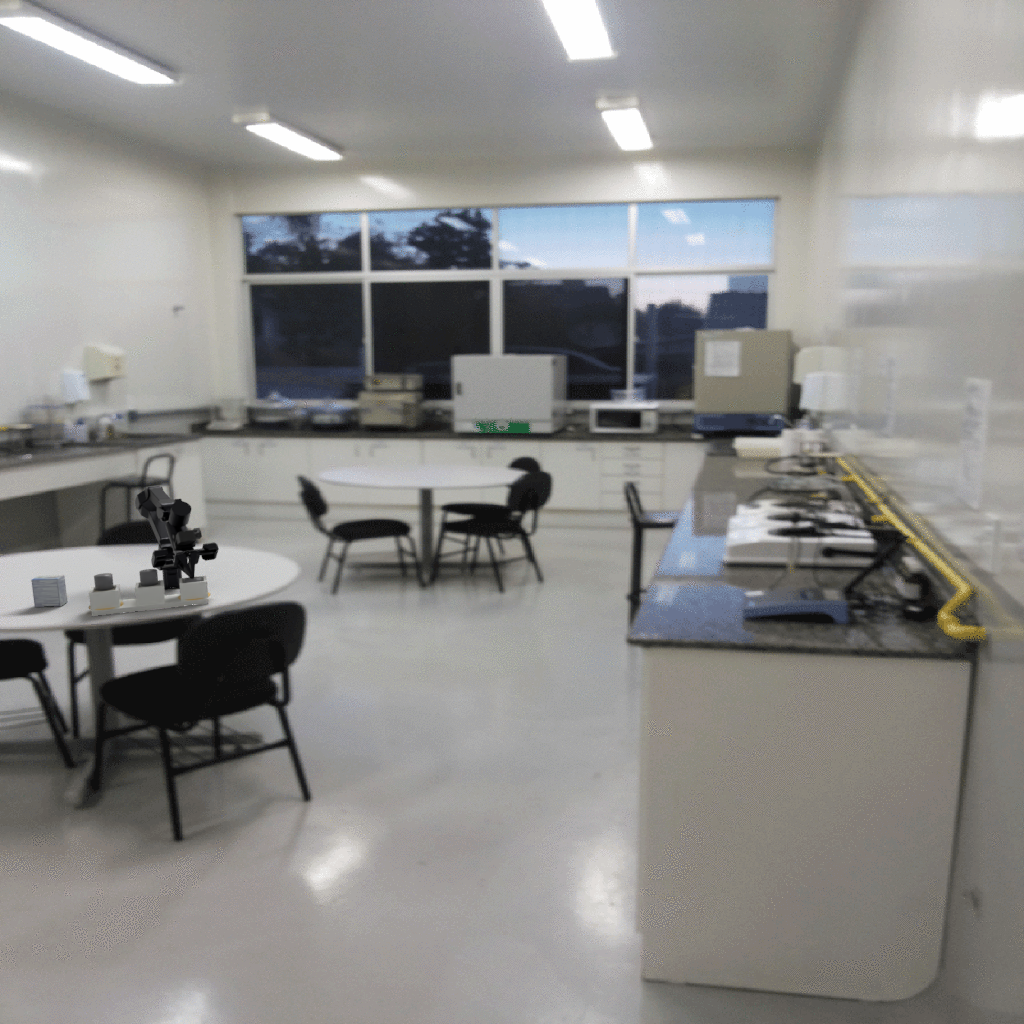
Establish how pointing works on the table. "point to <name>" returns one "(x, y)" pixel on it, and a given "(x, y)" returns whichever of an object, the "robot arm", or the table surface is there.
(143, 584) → the button
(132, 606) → the button board
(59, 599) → the medicine box
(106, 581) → the button
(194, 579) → the button
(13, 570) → the table surface
